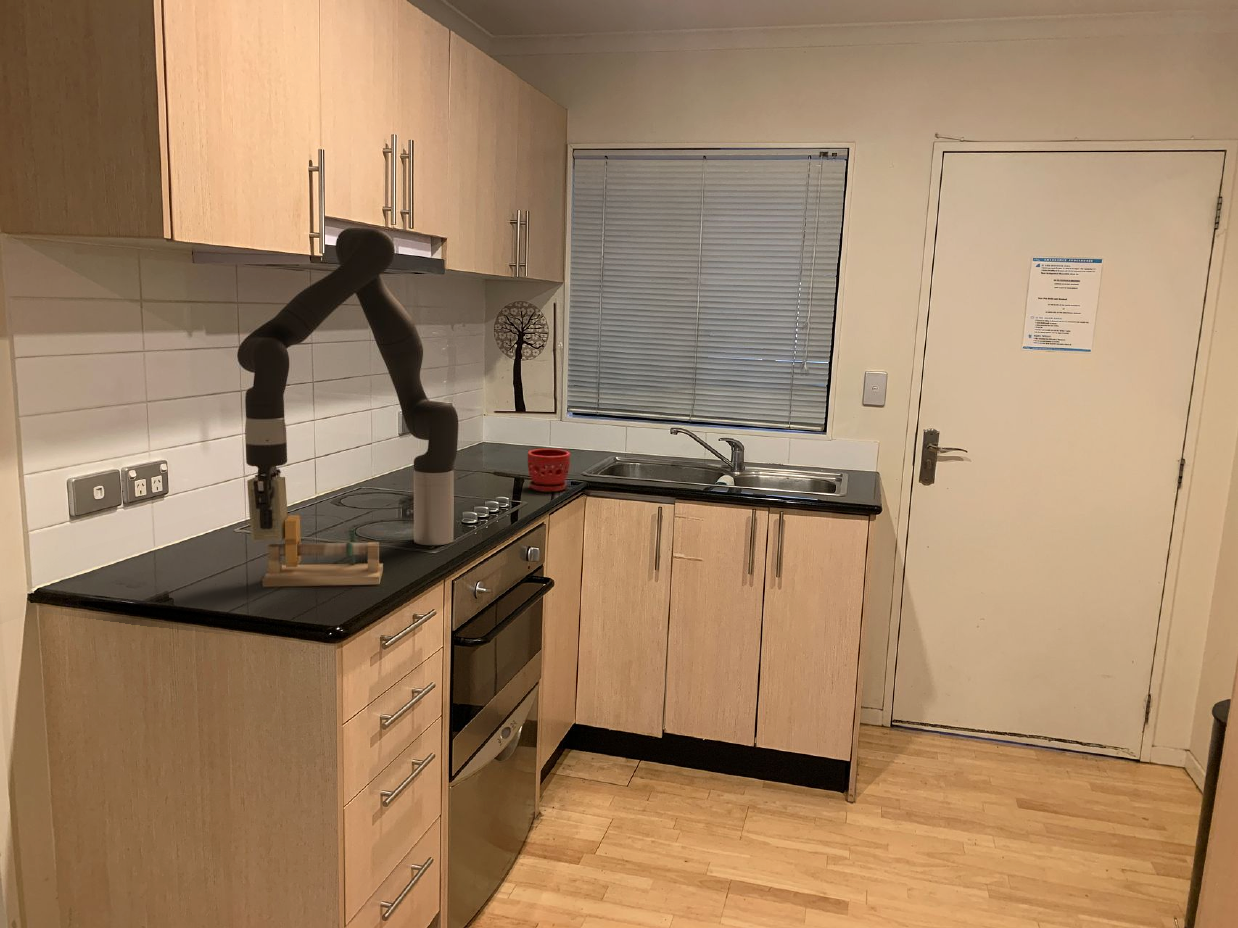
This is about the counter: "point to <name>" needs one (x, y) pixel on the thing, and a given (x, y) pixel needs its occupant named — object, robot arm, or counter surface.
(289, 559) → the orange block
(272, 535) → the skincare box
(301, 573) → the pipe rig
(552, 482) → the plant pot
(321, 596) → the counter surface
